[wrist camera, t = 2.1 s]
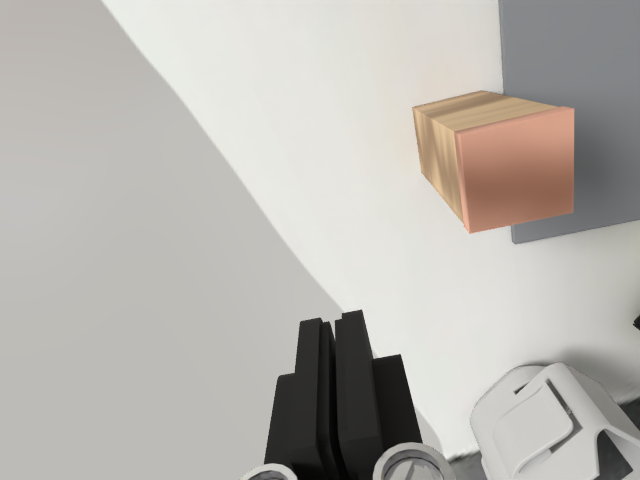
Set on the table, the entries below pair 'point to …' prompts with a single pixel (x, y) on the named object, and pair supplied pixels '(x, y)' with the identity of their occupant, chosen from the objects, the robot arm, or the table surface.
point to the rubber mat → (581, 99)
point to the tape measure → (637, 323)
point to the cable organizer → (549, 426)
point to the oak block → (497, 158)
